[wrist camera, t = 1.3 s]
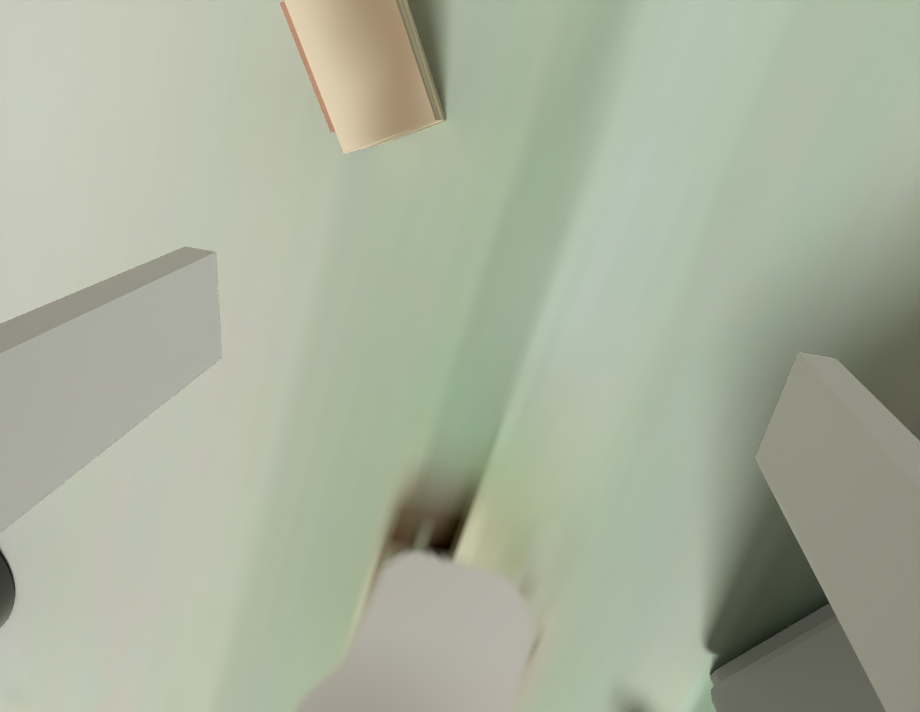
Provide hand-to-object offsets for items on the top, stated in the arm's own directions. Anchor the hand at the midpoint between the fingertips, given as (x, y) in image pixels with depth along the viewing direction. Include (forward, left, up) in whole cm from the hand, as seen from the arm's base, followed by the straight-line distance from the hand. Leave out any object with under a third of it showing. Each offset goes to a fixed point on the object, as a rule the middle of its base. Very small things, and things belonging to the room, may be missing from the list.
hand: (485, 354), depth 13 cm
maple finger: (-2, +9, -25) cm, 27 cm away
